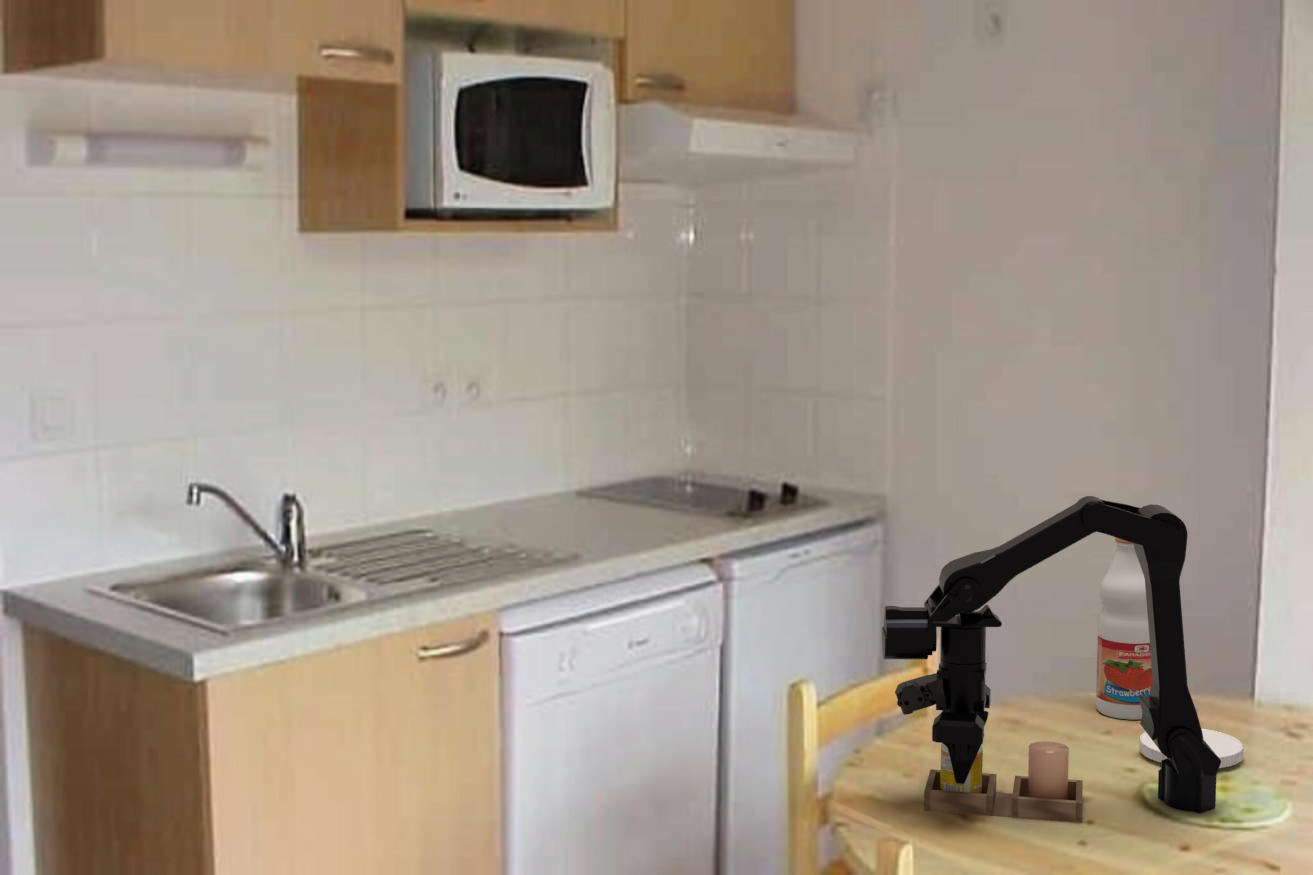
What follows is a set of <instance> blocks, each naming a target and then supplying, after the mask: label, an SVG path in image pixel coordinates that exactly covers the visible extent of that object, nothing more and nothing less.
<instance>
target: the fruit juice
mask: <svg viewBox="0 0 1313 875" xmlns="http://www.w3.org/2000/svg"><path fill="white" fill-rule="evenodd" d="M1114 541H1115V545H1116V551H1115V553H1114V556H1113V558H1112V560H1111V563H1110V566H1109V568H1108V570H1107V571H1106V574H1105V575H1104V577H1103V578H1102V580H1101V582H1100V586H1099V596H1100V600H1101V605H1102V609H1101V612H1100V615H1099V618H1098V620H1097V621H1098V622H1097V642H1096V643H1097V644H1096V646H1097V649H1096V650H1097V651H1096V652H1097V654H1096V681H1095V682H1096V683H1095V684H1096V685H1095V686H1096V691H1095V694H1096V695H1095V705H1096V710H1097V711H1098V712H1099V713H1100V714H1102V715H1105V716H1107V717H1111V718H1113V719H1114V718H1115V719H1119V720H1120V719H1121V720H1133V721H1134V720H1136V721H1137V720H1141V719H1142V708H1141V705H1140V701H1139V696H1149V695H1150V692H1151V688H1152V685H1153V675H1152V662H1151V650H1150V638H1149V625H1148V613H1147V601H1146V588H1145V578H1144V574H1143V572H1142V569H1141V566H1140V563H1139V561H1138V558H1137V555H1136V552H1135V548H1134V545H1133V543H1131V542H1128V541H1125V540H1122V539H1119V538H1116V537H1114Z"/></svg>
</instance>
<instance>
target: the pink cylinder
mask: <svg viewBox="0 0 1313 875" xmlns="http://www.w3.org/2000/svg"><path fill="white" fill-rule="evenodd" d="M1069 758H1070V748H1069V746H1067V745H1066V744H1064V743H1060V742H1055V741H1046V740H1045V741H1044V740H1043V741H1035V742H1033V743H1030V744H1029V745H1028V762H1027V763H1028V766H1027V767H1028V768H1027V770H1028V771H1027V772H1028V773H1027V776H1028V797H1033V798H1046V799H1059V800H1068V779H1069V769H1070V768H1069V766H1070V764H1069V761H1070V760H1069Z"/></svg>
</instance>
